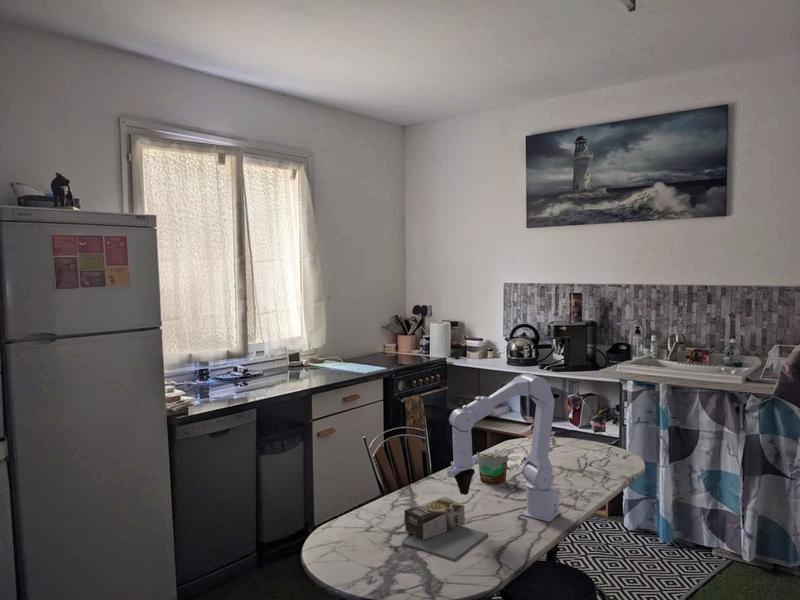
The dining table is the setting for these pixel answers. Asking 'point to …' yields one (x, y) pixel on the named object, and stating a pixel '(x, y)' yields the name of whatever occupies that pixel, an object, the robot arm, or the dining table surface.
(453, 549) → the mat
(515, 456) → the cloth
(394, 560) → the dining table surface
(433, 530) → the coffee box
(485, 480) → the food container
